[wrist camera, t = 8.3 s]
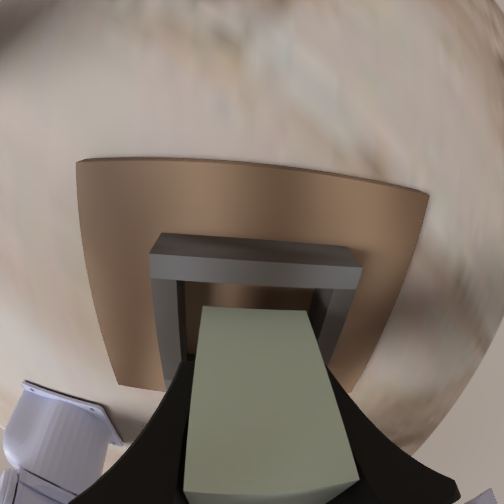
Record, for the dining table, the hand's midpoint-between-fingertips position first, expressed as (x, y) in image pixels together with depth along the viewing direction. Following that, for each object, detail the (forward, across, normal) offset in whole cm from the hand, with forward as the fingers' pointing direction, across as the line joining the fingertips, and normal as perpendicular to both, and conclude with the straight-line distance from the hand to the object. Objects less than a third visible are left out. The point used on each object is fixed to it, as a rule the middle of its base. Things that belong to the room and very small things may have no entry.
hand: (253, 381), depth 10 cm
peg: (+2, 0, 0) cm, 2 cm away
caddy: (+5, 0, 0) cm, 5 cm away
